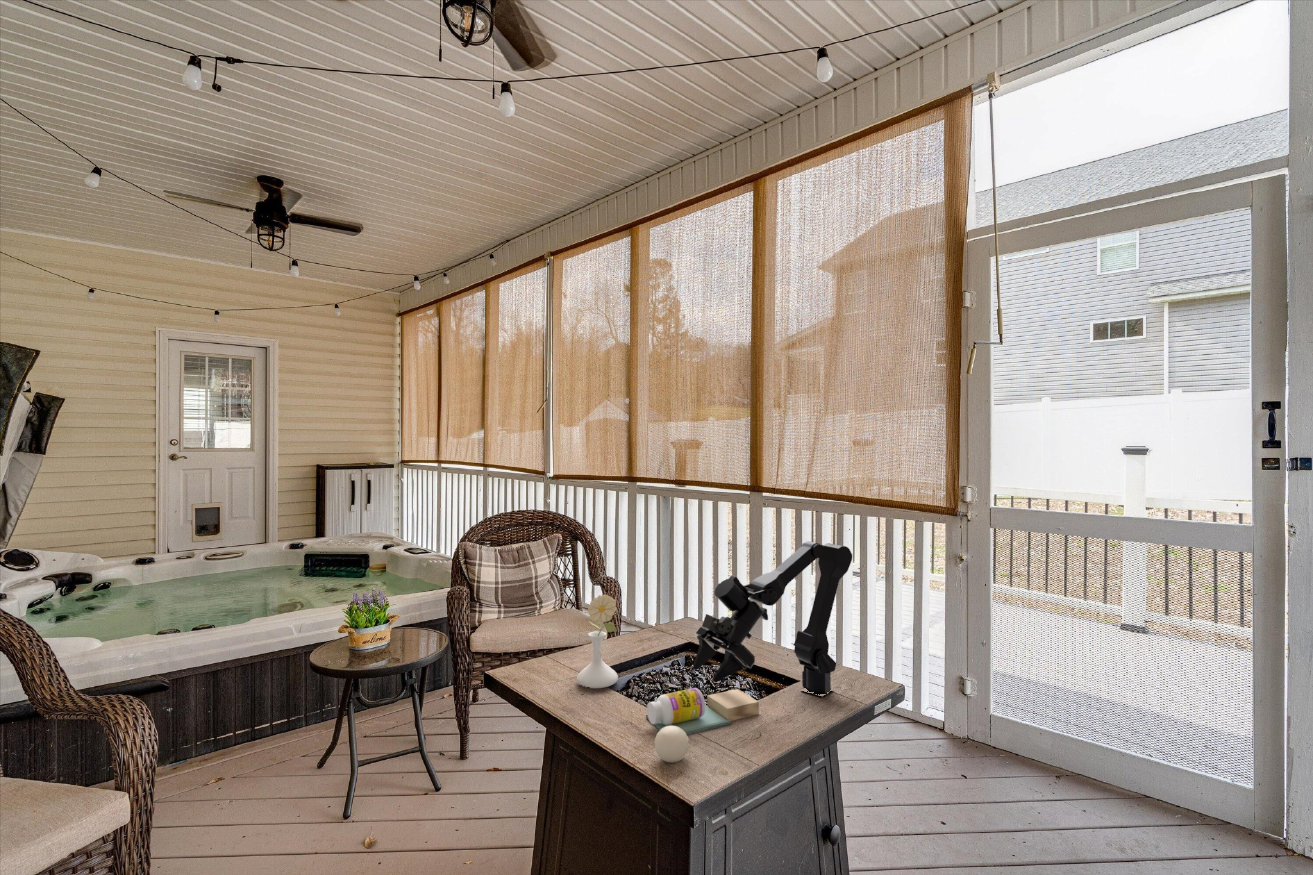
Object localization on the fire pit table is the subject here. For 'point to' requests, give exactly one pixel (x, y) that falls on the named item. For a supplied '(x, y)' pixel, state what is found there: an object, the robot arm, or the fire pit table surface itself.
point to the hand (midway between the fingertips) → (703, 674)
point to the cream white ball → (671, 744)
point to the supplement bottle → (677, 707)
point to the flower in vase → (599, 645)
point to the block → (733, 704)
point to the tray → (699, 722)
